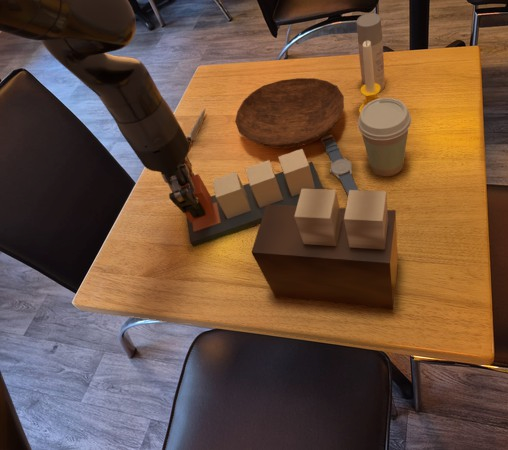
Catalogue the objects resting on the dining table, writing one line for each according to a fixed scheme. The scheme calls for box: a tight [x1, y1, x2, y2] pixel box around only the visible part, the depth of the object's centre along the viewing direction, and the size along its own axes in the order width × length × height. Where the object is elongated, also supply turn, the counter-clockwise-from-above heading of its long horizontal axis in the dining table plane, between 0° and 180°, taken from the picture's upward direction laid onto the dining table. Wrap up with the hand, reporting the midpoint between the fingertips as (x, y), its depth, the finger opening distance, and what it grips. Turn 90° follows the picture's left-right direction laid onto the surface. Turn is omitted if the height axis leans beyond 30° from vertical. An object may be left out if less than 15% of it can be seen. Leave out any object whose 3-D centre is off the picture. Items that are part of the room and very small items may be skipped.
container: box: [356, 12, 386, 93], centre depth 87 cm, size 5×5×15 cm
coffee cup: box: [357, 97, 412, 177], centre depth 75 cm, size 8×8×12 cm
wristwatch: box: [320, 134, 359, 196], centre depth 80 cm, size 4×20×1 cm, turn 15°
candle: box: [358, 40, 381, 114], centre depth 83 cm, size 5×5×16 cm
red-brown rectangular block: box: [181, 173, 214, 222], centre depth 75 cm, size 4×4×6 cm
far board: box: [185, 148, 324, 248], centre depth 77 cm, size 9×25×8 cm, turn 105°
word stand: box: [250, 188, 399, 310], centre depth 60 cm, size 18×8×19 cm, turn 78°
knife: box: [186, 108, 206, 146], centre depth 94 cm, size 15×1×2 cm, turn 166°
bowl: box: [234, 77, 345, 149], centre depth 88 cm, size 20×22×5 cm
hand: (198, 204), depth 76 cm, fingers closed on red-brown rectangular block, 4 cm apart
